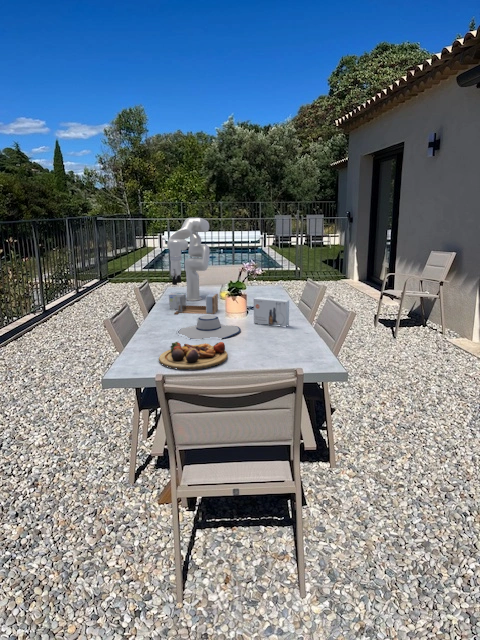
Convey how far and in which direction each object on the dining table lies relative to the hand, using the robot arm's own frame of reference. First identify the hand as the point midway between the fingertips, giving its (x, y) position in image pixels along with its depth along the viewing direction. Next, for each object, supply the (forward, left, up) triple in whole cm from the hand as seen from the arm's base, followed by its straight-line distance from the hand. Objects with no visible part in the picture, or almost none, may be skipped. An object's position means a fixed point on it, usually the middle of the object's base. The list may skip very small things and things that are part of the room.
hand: (176, 283), depth 308 cm
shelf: (+11, +16, -18) cm, 26 cm away
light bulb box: (0, 0, -18) cm, 18 cm away
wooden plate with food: (+101, +37, -18) cm, 109 cm away
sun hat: (+54, +34, -18) cm, 67 cm away
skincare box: (+36, +68, -18) cm, 79 cm away
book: (+11, +26, -17) cm, 33 cm away
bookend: (+11, +6, -16) cm, 21 cm away
